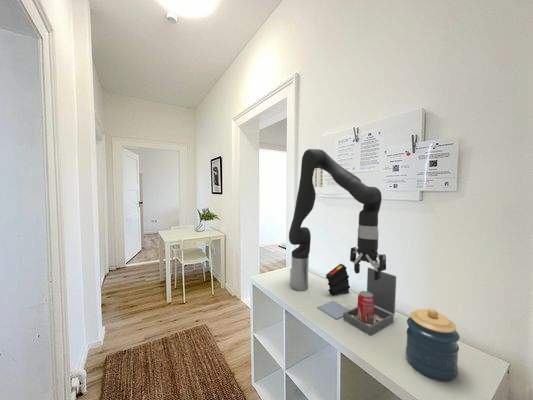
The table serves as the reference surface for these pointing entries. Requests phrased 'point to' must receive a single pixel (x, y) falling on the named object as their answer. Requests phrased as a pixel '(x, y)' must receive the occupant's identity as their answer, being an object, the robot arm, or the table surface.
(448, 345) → the canister
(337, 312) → the rubber mat
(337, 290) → the magazine
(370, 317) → the beverage can
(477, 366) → the table surface
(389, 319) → the case
